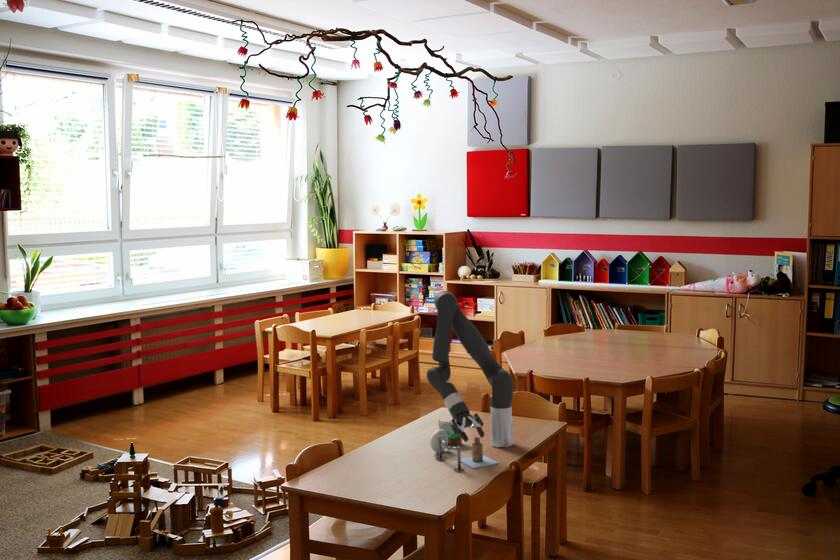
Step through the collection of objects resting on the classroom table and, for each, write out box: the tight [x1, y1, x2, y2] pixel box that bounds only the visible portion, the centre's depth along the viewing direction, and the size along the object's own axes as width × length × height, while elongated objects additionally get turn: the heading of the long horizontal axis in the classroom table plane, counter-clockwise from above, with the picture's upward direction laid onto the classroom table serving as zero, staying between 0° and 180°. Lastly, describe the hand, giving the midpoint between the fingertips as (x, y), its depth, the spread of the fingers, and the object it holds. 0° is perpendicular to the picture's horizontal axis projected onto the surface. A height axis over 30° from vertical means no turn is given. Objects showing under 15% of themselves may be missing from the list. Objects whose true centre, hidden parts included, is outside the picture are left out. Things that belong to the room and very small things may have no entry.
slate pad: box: [461, 454, 499, 470], centre depth 323 cm, size 12×12×1 cm
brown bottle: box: [471, 436, 484, 463], centre depth 322 cm, size 4×4×10 cm
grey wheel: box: [430, 428, 448, 454], centre depth 337 cm, size 10×3×10 cm, turn 139°
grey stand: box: [435, 437, 465, 473], centre depth 320 cm, size 3×19×10 cm, turn 27°
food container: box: [436, 419, 463, 446], centre depth 348 cm, size 12×6×10 cm, turn 68°
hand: (475, 438), depth 323 cm, fingers open, 8 cm apart
